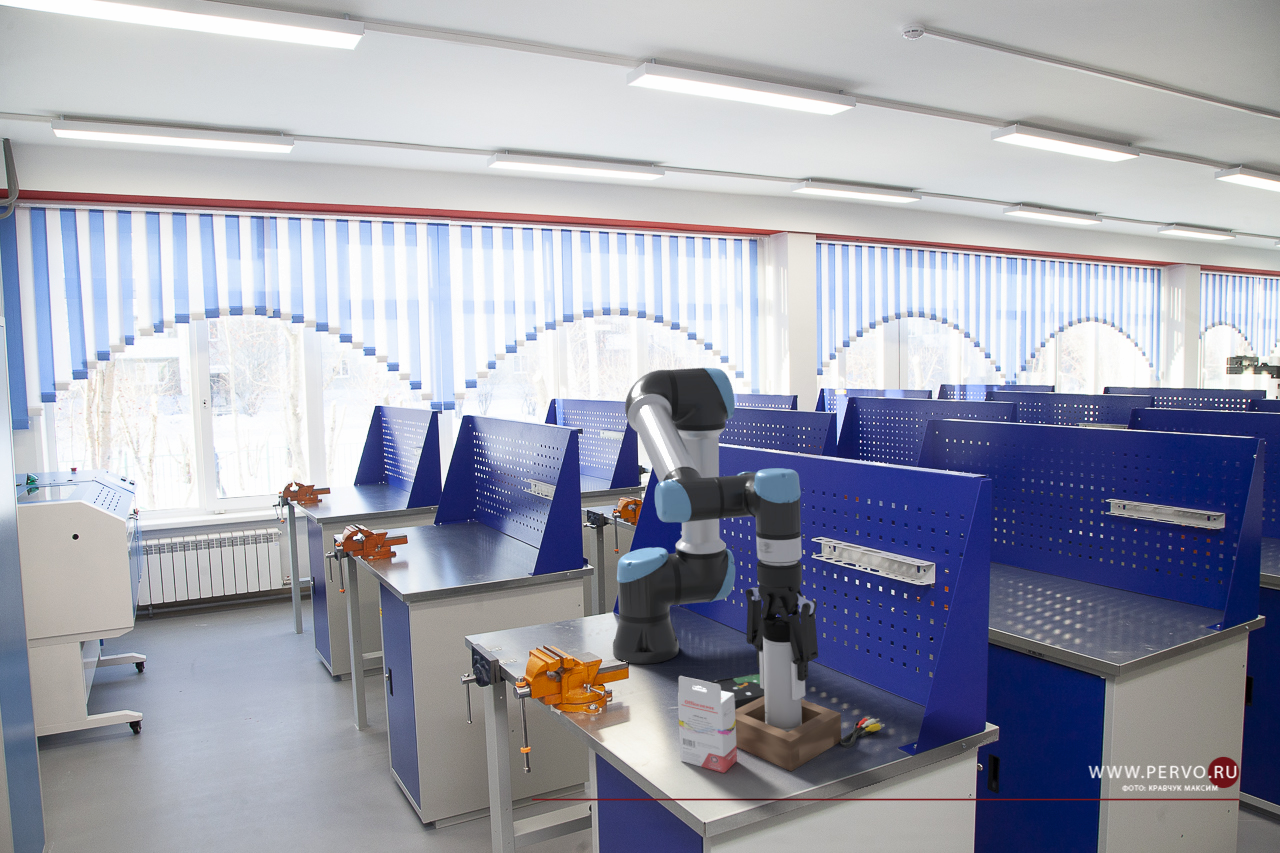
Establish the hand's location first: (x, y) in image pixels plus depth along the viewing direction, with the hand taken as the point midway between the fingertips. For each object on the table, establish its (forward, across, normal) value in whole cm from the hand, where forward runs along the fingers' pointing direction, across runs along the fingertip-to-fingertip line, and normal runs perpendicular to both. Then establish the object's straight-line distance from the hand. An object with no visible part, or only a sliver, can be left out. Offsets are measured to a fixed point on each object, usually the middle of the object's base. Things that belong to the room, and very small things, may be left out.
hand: (782, 691), depth 136 cm
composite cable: (+10, +8, +11) cm, 16 cm away
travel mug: (+7, 0, 0) cm, 7 cm away
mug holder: (+9, 0, 0) cm, 9 cm away
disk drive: (+10, -17, +10) cm, 22 cm away
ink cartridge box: (+9, -5, -14) cm, 17 cm away
